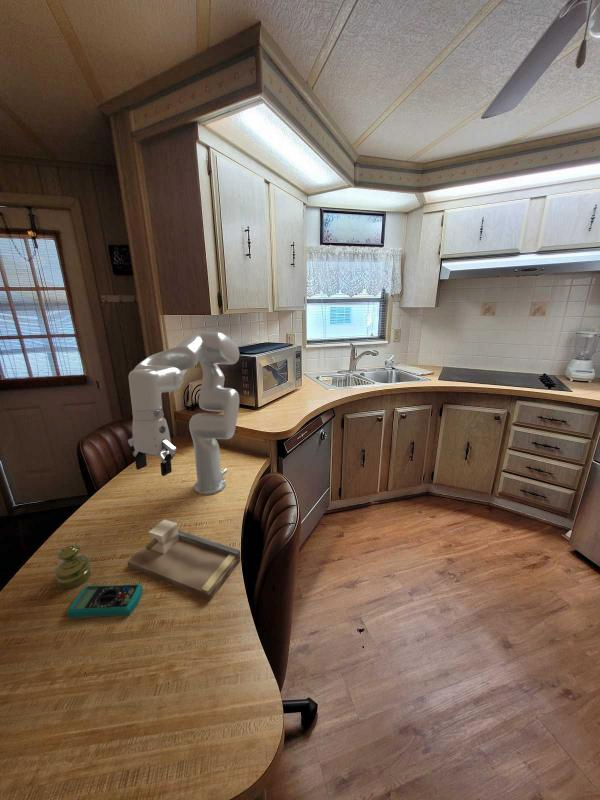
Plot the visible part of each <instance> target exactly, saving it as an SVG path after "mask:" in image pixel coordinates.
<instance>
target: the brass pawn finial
mask: <svg viewBox="0 0 600 800" xmlns="http://www.w3.org/2000/svg"><path fill="white" fill-rule="evenodd" d="M81 548H82V547H81V545H80V544H77V543H72V544H69V545H66V546H64V547H63V548H61V549H60V550H58V551H57V553H56V558H57V559H58V560H62V561H61V562H60V563H58V565H57V566H56V568H55V570H54V575H55V577H56V579H55V580H56V582H57V587H59V588H60V589H63V590H70V589H74V588H76V587H79V586H80V585H83V584H84V582H86V581H87V580H88V579H89V578H90V576H91V575H92V568H91V564H90V558H89V556H87V555H85V554H78V553H80V551H81Z"/></svg>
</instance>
